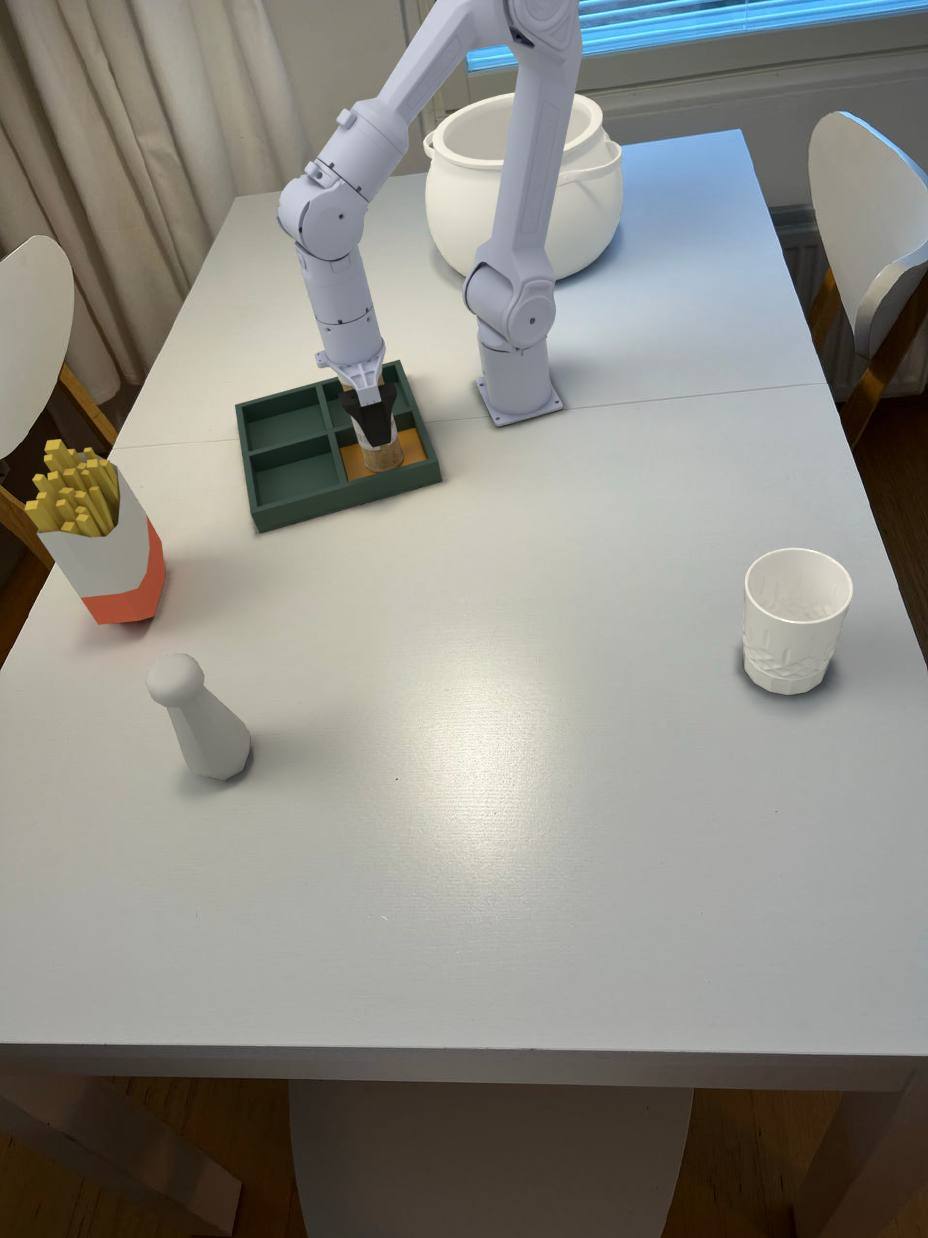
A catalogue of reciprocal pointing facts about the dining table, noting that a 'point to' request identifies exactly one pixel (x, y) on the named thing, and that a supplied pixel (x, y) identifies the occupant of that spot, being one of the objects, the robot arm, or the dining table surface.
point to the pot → (473, 175)
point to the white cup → (793, 618)
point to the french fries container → (98, 535)
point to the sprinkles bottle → (381, 455)
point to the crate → (324, 452)
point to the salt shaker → (199, 718)
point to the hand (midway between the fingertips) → (374, 422)
